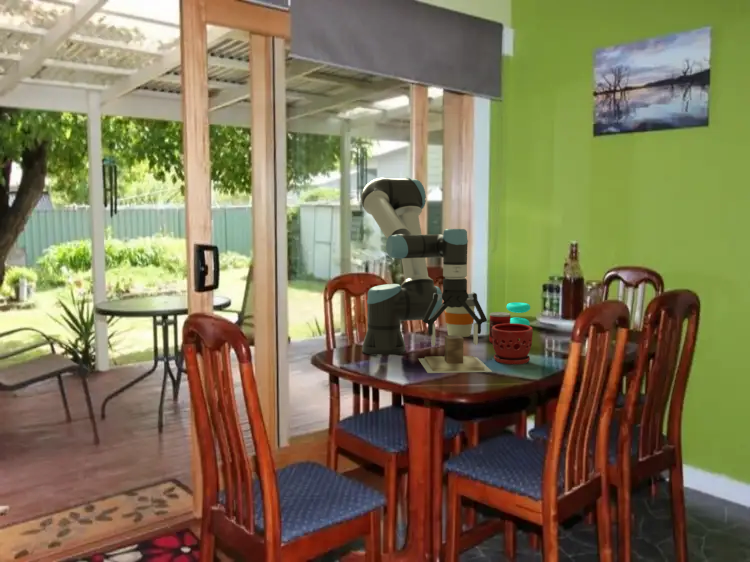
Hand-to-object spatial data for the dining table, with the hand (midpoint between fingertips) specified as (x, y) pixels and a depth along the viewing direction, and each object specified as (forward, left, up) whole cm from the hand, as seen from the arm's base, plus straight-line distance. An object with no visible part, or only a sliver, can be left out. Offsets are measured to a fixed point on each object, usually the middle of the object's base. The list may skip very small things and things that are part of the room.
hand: (454, 344), depth 215 cm
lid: (0, 0, -7) cm, 7 cm away
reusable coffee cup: (+13, +53, -7) cm, 55 cm away
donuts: (+42, +70, -7) cm, 82 cm away
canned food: (+25, +37, -7) cm, 46 cm away
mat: (0, 0, -7) cm, 7 cm away
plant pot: (+20, +4, -7) cm, 22 cm away
